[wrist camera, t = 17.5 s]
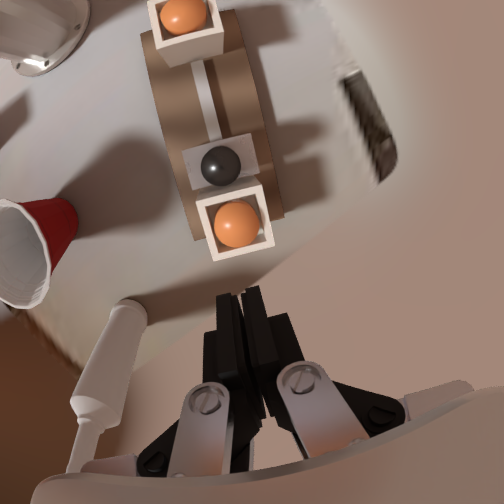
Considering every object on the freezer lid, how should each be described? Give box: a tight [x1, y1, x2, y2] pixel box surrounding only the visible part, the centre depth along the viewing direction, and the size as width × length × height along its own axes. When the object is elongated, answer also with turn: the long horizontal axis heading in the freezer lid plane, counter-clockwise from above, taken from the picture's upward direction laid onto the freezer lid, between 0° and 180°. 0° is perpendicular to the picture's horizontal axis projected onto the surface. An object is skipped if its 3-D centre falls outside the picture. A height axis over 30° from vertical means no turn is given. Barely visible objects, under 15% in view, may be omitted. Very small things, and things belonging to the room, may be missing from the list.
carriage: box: [182, 133, 260, 190], centre depth 22 cm, size 4×6×8 cm, turn 103°
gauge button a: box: [160, 0, 207, 37], centre depth 16 cm, size 4×4×2 cm
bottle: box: [66, 299, 147, 473], centre depth 23 cm, size 5×5×25 cm
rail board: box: [140, 9, 285, 241], centre depth 25 cm, size 24×10×2 cm, turn 13°
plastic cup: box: [0, 198, 78, 309], centre depth 23 cm, size 11×11×12 cm
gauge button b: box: [214, 199, 259, 248], centre depth 23 cm, size 4×4×2 cm
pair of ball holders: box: [147, 0, 275, 261], centre depth 23 cm, size 24×5×8 cm, turn 13°
